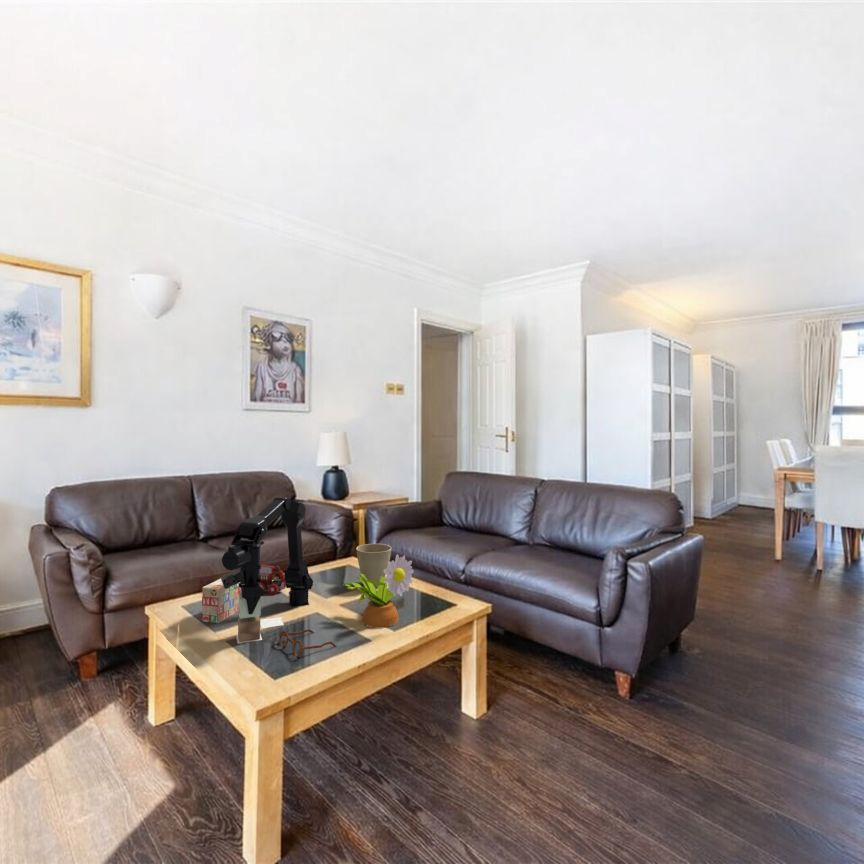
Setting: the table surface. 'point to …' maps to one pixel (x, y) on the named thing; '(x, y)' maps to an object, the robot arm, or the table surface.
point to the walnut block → (248, 628)
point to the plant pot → (373, 560)
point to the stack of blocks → (219, 601)
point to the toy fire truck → (267, 578)
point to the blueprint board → (265, 624)
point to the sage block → (244, 610)
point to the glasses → (300, 641)
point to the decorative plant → (384, 593)
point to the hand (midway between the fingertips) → (249, 610)
